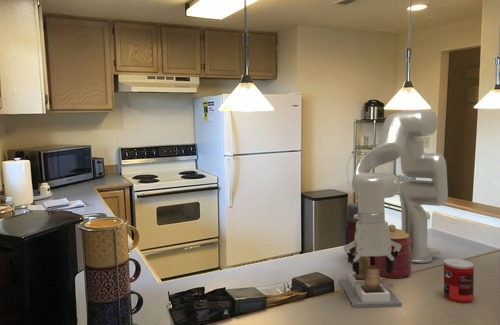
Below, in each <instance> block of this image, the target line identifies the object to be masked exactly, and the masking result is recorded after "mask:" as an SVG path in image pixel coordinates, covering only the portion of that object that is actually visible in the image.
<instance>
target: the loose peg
mask: <svg viewBox="0 0 500 325" xmlns="http://www.w3.org/2000/svg"><path fill="white" fill-rule="evenodd" d="M364 279H365V293H380V279H381V276H380V268H379V267H377V266H373V265H368V266H365V267H364Z"/></svg>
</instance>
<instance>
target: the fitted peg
mask: <svg viewBox="0 0 500 325" xmlns="http://www.w3.org/2000/svg"><path fill="white" fill-rule="evenodd" d="M358 262H359V275H357V274H356V280H357V281H358V280H365V279H364V267H365V266H368V265H370V257H360V258H359V259H358Z"/></svg>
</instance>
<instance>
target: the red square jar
mask: <svg viewBox="0 0 500 325" xmlns="http://www.w3.org/2000/svg"><path fill="white" fill-rule="evenodd" d="M346 208H347V209H346V212H347V244H349V243H351V242H353V241H354V240H355V229H356V223H357V221H359V220H358V219H354V215H355V214H358V211H359V210H358V202H351V203H347V206H346ZM349 251H350V253H351V254H354V253H355V248H354V247H353V248H351V249H350V250H349ZM347 261H349V262H348V263H350V262H351V263H350V264H352V263H353V260H352V259H350V258H349V257H348V256H347ZM370 265H373V266H374V257H370Z"/></svg>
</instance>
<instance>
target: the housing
mask: <svg viewBox="0 0 500 325" xmlns="http://www.w3.org/2000/svg"><path fill="white" fill-rule="evenodd" d="M347 273H348V274H347V275H348V279H347V278H346V279H345V278H341V279H340V278H339V279H338V282H339V285H340V286H341V288H342V290H343V291H344V290H345V292H346V294H347V295H348V297H349V299H350V301H351V302H350V301H349V302H350V304H351V303H352V304H351V305H353V306H352V307H361V308H391V307H394V308H395V307H397V308H398V307H400V308H401V307H402V302H401V301H400V300H399V298H398V297H397V296H396V295H395V294H394V292H392V291H391V289H390V288H389V287H388V286H387V285H386V283H385V282H384V281H383V280H382V279H381V278H380V293H365V280H358V281H357V280H356V273H355V272H347ZM345 292H344V293H345ZM346 294H345V295H346ZM347 295H346V296H347ZM348 297H347V298H348ZM349 299H348V300H349Z"/></svg>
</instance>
